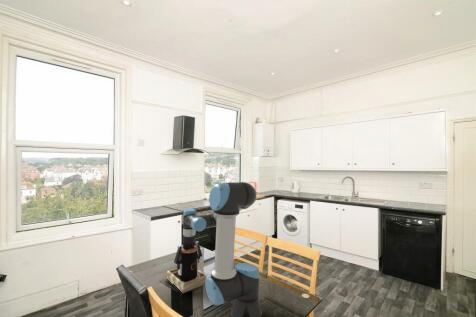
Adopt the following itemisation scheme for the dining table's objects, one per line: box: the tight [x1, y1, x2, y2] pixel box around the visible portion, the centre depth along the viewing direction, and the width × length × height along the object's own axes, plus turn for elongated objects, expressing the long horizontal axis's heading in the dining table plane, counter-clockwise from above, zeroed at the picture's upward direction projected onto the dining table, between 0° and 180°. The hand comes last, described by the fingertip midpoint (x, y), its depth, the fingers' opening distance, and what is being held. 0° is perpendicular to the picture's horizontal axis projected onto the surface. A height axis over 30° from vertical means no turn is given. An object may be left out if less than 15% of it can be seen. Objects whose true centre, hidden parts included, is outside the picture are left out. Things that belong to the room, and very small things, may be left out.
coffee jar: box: [179, 245, 199, 282], centre depth 142 cm, size 11×11×18 cm
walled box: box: [166, 267, 208, 294], centre depth 144 cm, size 20×16×5 cm
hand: (188, 271), depth 142 cm, fingers closed on coffee jar, 11 cm apart
